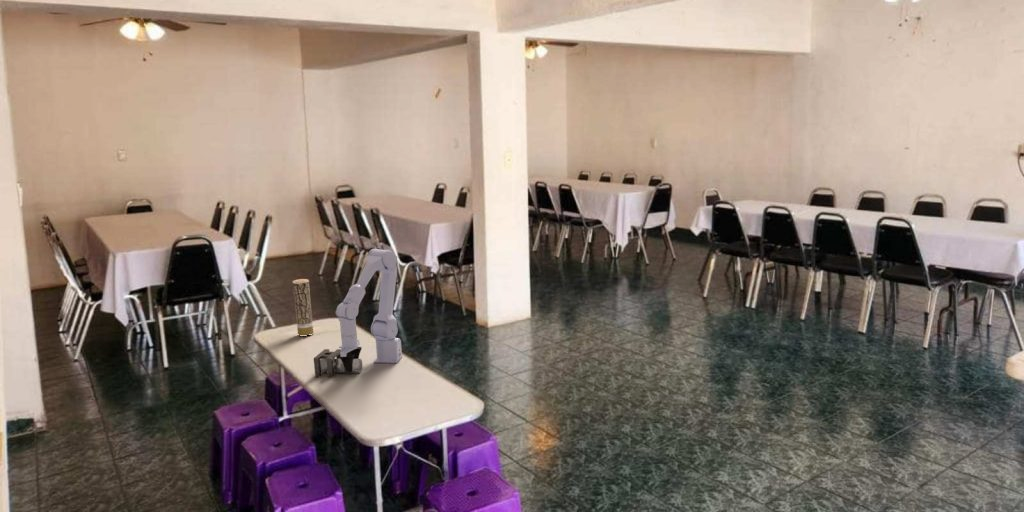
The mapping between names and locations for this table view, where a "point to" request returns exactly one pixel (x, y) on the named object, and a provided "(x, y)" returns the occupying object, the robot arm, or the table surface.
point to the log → (303, 306)
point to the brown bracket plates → (329, 358)
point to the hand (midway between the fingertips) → (351, 369)
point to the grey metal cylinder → (341, 365)
